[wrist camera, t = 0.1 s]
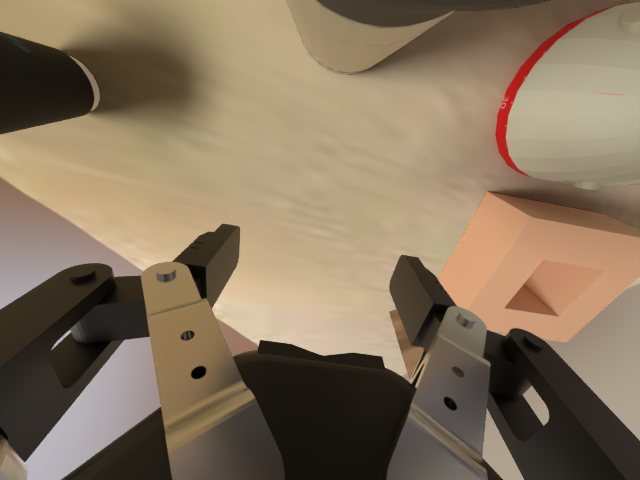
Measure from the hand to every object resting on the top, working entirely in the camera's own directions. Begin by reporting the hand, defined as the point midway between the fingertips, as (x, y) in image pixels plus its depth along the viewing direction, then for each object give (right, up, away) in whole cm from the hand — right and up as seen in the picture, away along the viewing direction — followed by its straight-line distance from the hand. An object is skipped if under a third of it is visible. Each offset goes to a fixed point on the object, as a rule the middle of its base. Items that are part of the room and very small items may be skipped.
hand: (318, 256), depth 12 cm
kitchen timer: (+25, +14, +12) cm, 31 cm away
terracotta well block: (+25, -1, +20) cm, 33 cm away
